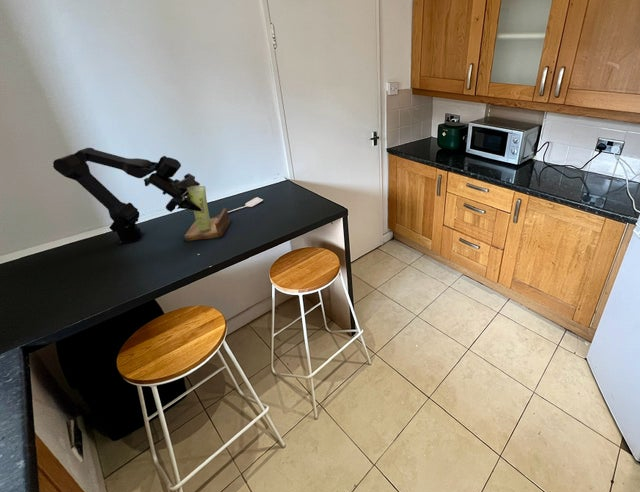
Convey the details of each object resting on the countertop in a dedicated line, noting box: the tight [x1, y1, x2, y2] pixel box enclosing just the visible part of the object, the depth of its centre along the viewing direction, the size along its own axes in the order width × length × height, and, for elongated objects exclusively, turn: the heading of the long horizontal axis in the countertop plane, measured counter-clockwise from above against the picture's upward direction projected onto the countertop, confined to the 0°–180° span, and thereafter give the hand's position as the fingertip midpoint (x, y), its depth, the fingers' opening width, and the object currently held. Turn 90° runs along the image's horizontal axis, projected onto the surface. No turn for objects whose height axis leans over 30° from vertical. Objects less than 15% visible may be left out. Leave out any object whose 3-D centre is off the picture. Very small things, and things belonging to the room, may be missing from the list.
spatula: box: [210, 196, 264, 219], centre depth 156 cm, size 6×29×2 cm, turn 145°
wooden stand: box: [184, 207, 231, 242], centre depth 138 cm, size 14×14×7 cm
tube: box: [187, 185, 211, 230], centre depth 131 cm, size 6×5×20 cm
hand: (203, 208), depth 131 cm, fingers closed on tube, 4 cm apart
